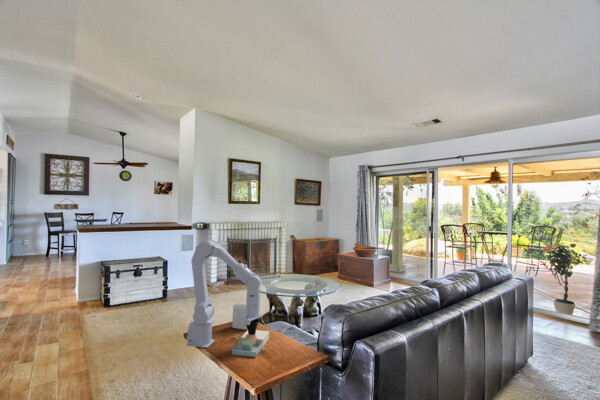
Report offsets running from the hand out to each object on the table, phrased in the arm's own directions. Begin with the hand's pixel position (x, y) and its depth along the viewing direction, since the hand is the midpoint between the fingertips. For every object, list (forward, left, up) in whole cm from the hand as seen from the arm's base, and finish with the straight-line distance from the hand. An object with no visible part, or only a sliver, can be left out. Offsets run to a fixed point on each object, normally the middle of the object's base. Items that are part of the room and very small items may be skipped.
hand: (251, 336), depth 134 cm
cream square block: (0, +5, -4) cm, 7 cm away
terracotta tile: (0, -2, -2) cm, 3 cm away
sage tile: (0, -5, 0) cm, 5 cm away
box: (0, -5, -4) cm, 6 cm away
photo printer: (-11, +19, -4) cm, 23 cm away
